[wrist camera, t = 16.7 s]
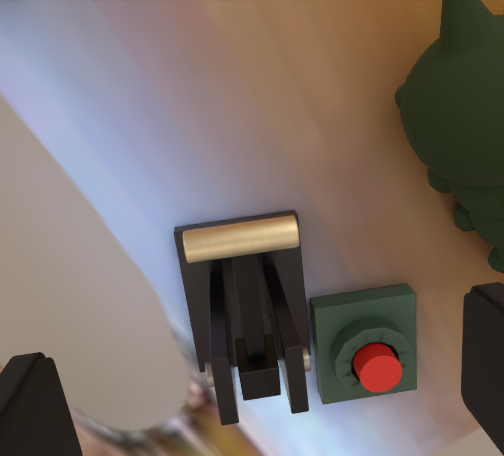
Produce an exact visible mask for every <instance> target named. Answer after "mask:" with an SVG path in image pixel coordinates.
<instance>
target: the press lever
mask: <svg viewBox="0 0 504 456" xmlns="http://www.w3.org/2000/svg"><path fill="white" fill-rule="evenodd" d="M183 244H184V251H185V256H186V260H187V262H188V263H193V262H199V261H206V260H213V259H220V258H227V257H231V258H232V264H233V271H234V277H235V284H236V290H237V297H238V303H239V310H240V317H241V323H242V330H243V336H244V338H237V339H235V345H236V354H237V362H238V371H239V377H240V383H241V388H242V394H243V400H244V401H246V400H252V399H258V398H264V397H270V396H277V395H281V390H280V378H279V367H278V362H277V356H276V351H275V346H274V341H273V336H272V333H270V334H264V327H263V317H262V308H261V298H260V289H259V279H258V270H257V261H256V253H261V252H268V251H274V250H281V249H288V248H295V247H298V246H299V231H298V225H297V221H296V218H295V216H293V215H291V216H284V217H277V218H271V219H264V220H257V221H250V222H243V223H236V224H229V225H222V226H215V227H208V228H201V229H194V230H187V231H184V232H183Z"/></svg>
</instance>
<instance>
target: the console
mask: <svg viewBox="0 0 504 456" xmlns="http://www.w3.org/2000/svg"><path fill="white" fill-rule="evenodd" d="M310 307H311V318H312V329H313V340H314V351H315V362H316V373H317V384H318V392H319V395H320V398H321V401H322V404H329V403H335V402H341V401H347V400H354V399H360V398H366V397H373V396H379V395H385V394H391V393H397V392H403V391H409V390H415V389H417V358H416V293H415V292H414V291H413V290H412V289H411V287H410V286H409V285H408V284H401V285H395V286H388V287H381V288H375V289H368V290H362V291H355V292H348V293H342V294H335V295H329V296H322V297H316V298H310ZM372 343H381V344H384V345H386V346H388V347H389V348H390V349H391V350H392V352H393V353H394V355H395V357H396V358H397V360H398V361H399V363H400V364H401V367H402V376H401V378H400V380H399V382H398V383H397V384H396V385H395V386H394V387H393V388H391V389H390V390H387V391H384V392H372V391H369V390H367V389H366V388H365V387H364V386H363V385H362V384H361V382H360V380H359V377H358V375H357V373H356V371H355V369H354V365H353V362H354V357H355V355H356V354H357V352H358V351H359V350H360V349H361V348H362V347H364V346H366V345H368V344H372Z"/></svg>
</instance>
